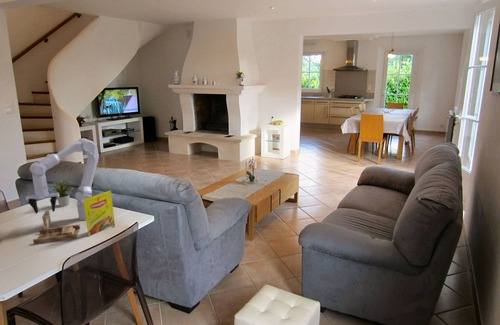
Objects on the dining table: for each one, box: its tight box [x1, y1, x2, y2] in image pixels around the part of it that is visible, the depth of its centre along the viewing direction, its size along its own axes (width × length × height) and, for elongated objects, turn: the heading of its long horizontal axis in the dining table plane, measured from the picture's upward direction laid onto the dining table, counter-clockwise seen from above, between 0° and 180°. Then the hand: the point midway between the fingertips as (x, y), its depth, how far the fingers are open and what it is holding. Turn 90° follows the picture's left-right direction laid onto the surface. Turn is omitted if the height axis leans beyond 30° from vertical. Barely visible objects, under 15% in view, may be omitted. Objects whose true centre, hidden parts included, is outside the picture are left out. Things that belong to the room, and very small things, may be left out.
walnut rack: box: [32, 224, 81, 245], centre depth 172 cm, size 18×12×3 cm, turn 106°
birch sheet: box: [42, 210, 52, 229], centre depth 180 cm, size 2×7×8 cm, turn 17°
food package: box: [83, 189, 116, 237], centre depth 175 cm, size 15×1×20 cm, turn 149°
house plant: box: [49, 179, 75, 208], centre depth 210 cm, size 14×14×16 cm
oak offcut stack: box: [61, 225, 75, 236], centre depth 173 cm, size 5×8×2 cm, turn 16°
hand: (45, 211), depth 179 cm, fingers open, 7 cm apart
